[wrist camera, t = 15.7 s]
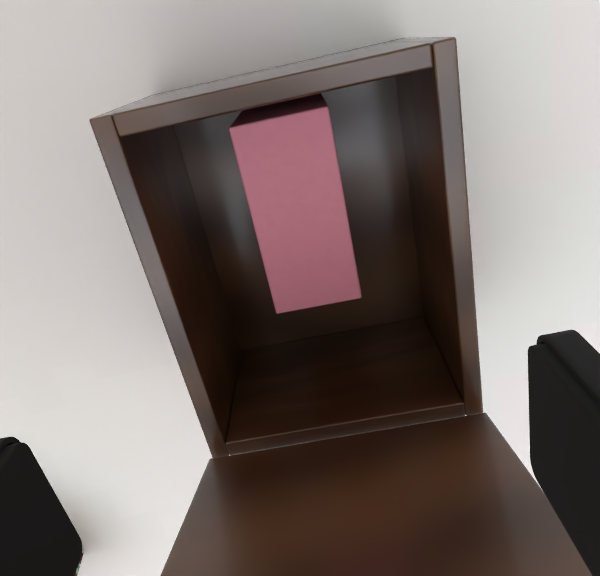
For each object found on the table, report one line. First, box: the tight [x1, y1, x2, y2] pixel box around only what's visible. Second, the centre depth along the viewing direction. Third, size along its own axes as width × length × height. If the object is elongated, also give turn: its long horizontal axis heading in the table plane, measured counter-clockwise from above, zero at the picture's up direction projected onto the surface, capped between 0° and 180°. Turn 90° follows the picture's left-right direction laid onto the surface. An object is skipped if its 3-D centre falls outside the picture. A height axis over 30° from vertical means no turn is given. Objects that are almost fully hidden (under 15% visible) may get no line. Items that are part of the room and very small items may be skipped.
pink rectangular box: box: [229, 94, 362, 314], centre depth 25 cm, size 4×8×6 cm, turn 12°
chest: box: [90, 37, 483, 458], centre depth 25 cm, size 16×13×9 cm
